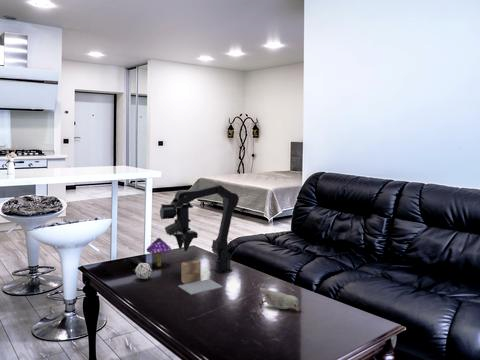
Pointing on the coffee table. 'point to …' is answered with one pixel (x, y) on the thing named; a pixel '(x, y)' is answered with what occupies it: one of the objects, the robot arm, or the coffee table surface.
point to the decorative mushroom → (158, 249)
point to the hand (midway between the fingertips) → (182, 249)
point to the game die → (143, 270)
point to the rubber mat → (200, 286)
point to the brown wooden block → (191, 271)
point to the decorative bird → (279, 300)
